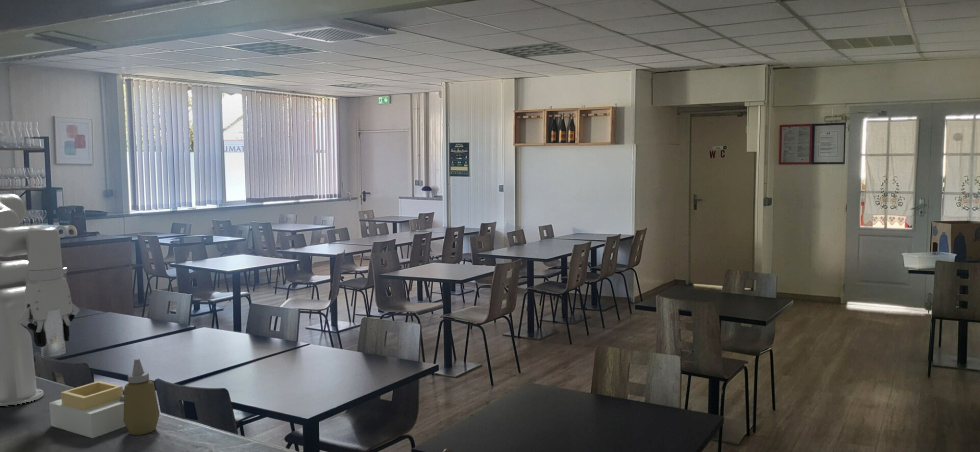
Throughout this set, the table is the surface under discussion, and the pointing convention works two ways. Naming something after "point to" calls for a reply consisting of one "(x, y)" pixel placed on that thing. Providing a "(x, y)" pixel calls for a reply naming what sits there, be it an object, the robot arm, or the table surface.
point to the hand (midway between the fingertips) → (52, 342)
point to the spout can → (53, 334)
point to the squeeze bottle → (140, 402)
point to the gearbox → (89, 409)
